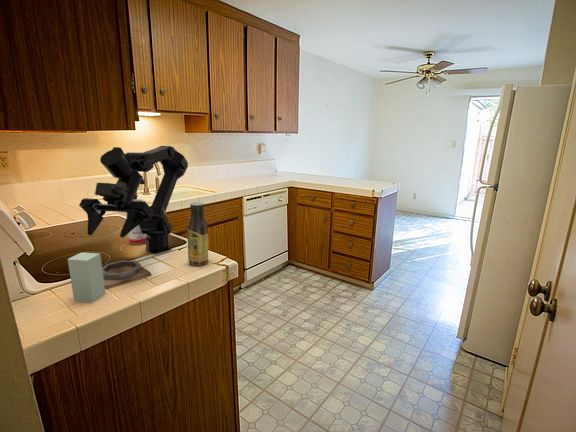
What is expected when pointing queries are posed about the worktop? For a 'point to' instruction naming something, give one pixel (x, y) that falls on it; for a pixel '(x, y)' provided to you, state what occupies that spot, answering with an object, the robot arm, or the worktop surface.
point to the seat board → (113, 283)
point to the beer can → (136, 235)
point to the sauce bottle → (197, 236)
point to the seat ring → (120, 275)
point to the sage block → (86, 277)
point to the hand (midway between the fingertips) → (105, 235)
